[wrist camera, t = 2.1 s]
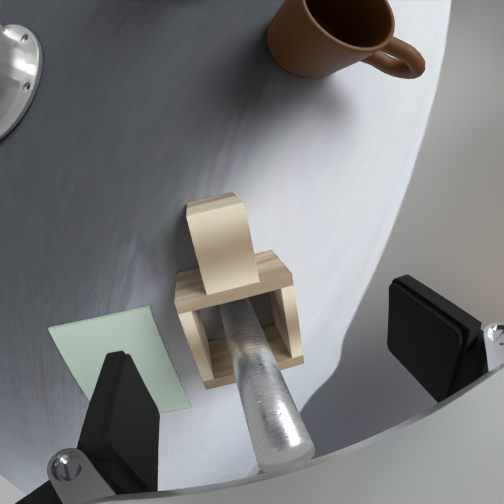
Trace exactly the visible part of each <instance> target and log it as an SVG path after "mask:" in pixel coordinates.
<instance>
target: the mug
mask: <svg viewBox="0 0 504 504" xmlns="http://www.w3.org/2000/svg"><path fill="white" fill-rule="evenodd" d="M394 27H395V22H394V16H393V12H392V9H391V7H390V5H389V3H388V1H387V0H285V1H284V3H283V4H282V5H281V7H280V8H279V10H278V11H277V13H276V14H275V16H274V17H273V19H272V20H271V22H270V24H269V27H268V30H267V45H268V48H269V51H270V53H271V55H272V56H273V58H274V59H275V61H276V62H277V63H278V64H279V65H280V66H281V67H283V68H284V69H285V70H287V71H288V72H290V73H292V74H294V75H297V76H300V77H305V78H320V77H324V76H327V75H330V74H332V73H334V72H336V71H338V70H341V69H343V68H345V67H347V66H350V65H352V64H354V63H356V62H358V61H361V62H364V63H367V64H370V65H372V66H373V67H375V68H377V69H378V70H380V71H382V72H384V73H386V74H388V75H391V76H394V77H398V78H405V79H414V78H417V77H419V76H421V75H422V74H423V72H424V71H425V61H424V58H423V57H422V56H421V54H420V53H419V52H418V51H417V50H416V49H415V48H414V47H413V46H411V45H410V44H408V43H406V42H404V41H402V40H399V39H397V38H395V37H393V33H394ZM384 52H385V53H387V54H389V55H391V56H393V57H395V58H397V59H395V58H392V57H390V56H388V55H387V54H385V53H384ZM398 59H399V60H398Z"/></svg>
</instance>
